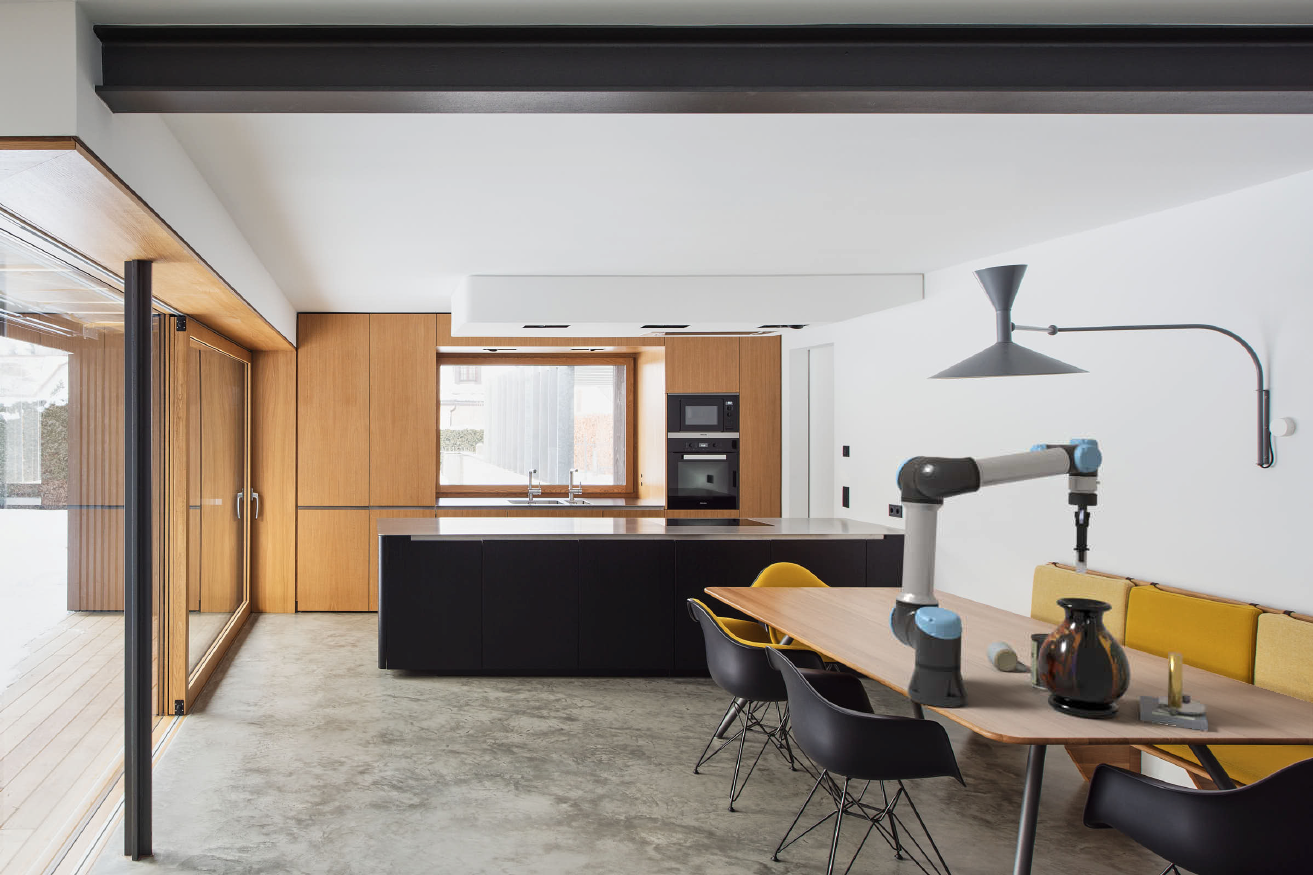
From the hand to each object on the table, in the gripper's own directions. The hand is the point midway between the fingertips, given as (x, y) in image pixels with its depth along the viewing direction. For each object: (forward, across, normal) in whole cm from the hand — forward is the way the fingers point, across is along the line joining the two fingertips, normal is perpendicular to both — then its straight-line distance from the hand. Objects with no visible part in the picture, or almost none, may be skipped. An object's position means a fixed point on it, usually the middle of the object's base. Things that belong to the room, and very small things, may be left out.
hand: (1081, 572), depth 240 cm
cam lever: (+30, -22, -24) cm, 44 cm away
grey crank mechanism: (+32, -21, -22) cm, 44 cm away
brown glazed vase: (+32, -28, -2) cm, 43 cm away
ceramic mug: (+32, +5, +20) cm, 38 cm away
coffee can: (+32, -9, +7) cm, 34 cm away
